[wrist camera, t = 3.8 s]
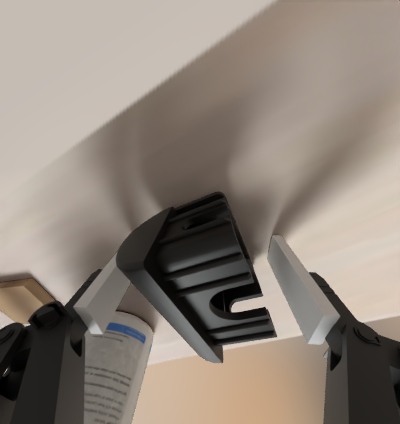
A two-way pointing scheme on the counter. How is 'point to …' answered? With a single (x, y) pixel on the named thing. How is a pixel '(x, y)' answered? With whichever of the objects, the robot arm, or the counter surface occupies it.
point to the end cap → (197, 275)
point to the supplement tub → (115, 369)
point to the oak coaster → (22, 299)
